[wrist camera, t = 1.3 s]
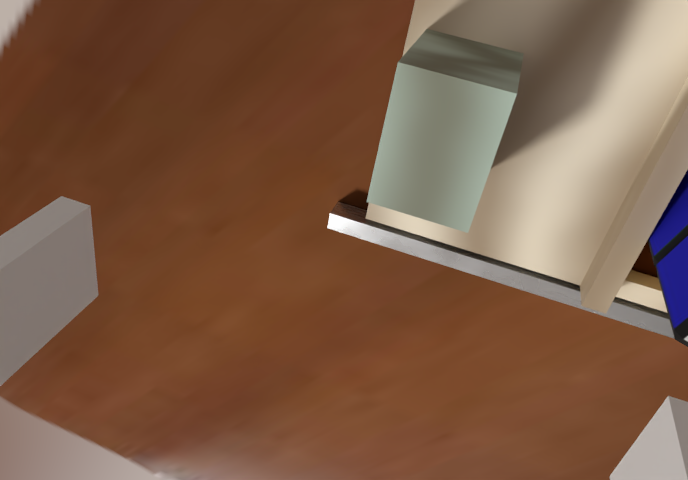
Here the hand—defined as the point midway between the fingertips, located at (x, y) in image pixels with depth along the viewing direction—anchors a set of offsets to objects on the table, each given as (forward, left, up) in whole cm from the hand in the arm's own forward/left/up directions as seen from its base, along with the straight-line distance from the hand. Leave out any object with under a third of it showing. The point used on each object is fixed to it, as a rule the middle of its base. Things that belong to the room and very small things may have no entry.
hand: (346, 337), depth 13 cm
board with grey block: (-10, 0, -19) cm, 21 cm away
